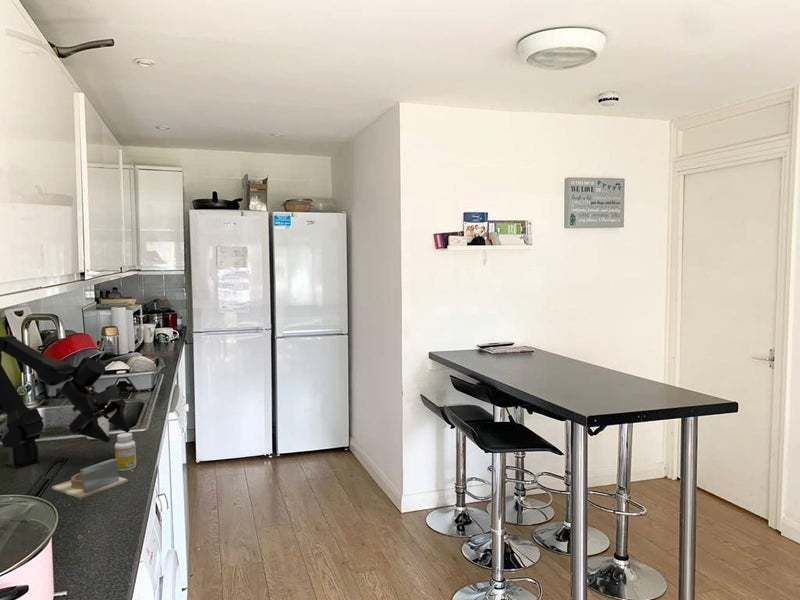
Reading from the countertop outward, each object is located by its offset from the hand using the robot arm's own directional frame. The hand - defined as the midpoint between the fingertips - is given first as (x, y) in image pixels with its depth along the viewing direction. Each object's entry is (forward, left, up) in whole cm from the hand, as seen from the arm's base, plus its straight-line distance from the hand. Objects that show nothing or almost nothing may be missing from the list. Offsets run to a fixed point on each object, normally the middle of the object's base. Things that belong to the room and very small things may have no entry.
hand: (119, 436), depth 170 cm
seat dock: (-12, -6, -9) cm, 16 cm away
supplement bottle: (+1, -2, -9) cm, 10 cm away
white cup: (+11, +33, -9) cm, 36 cm away
